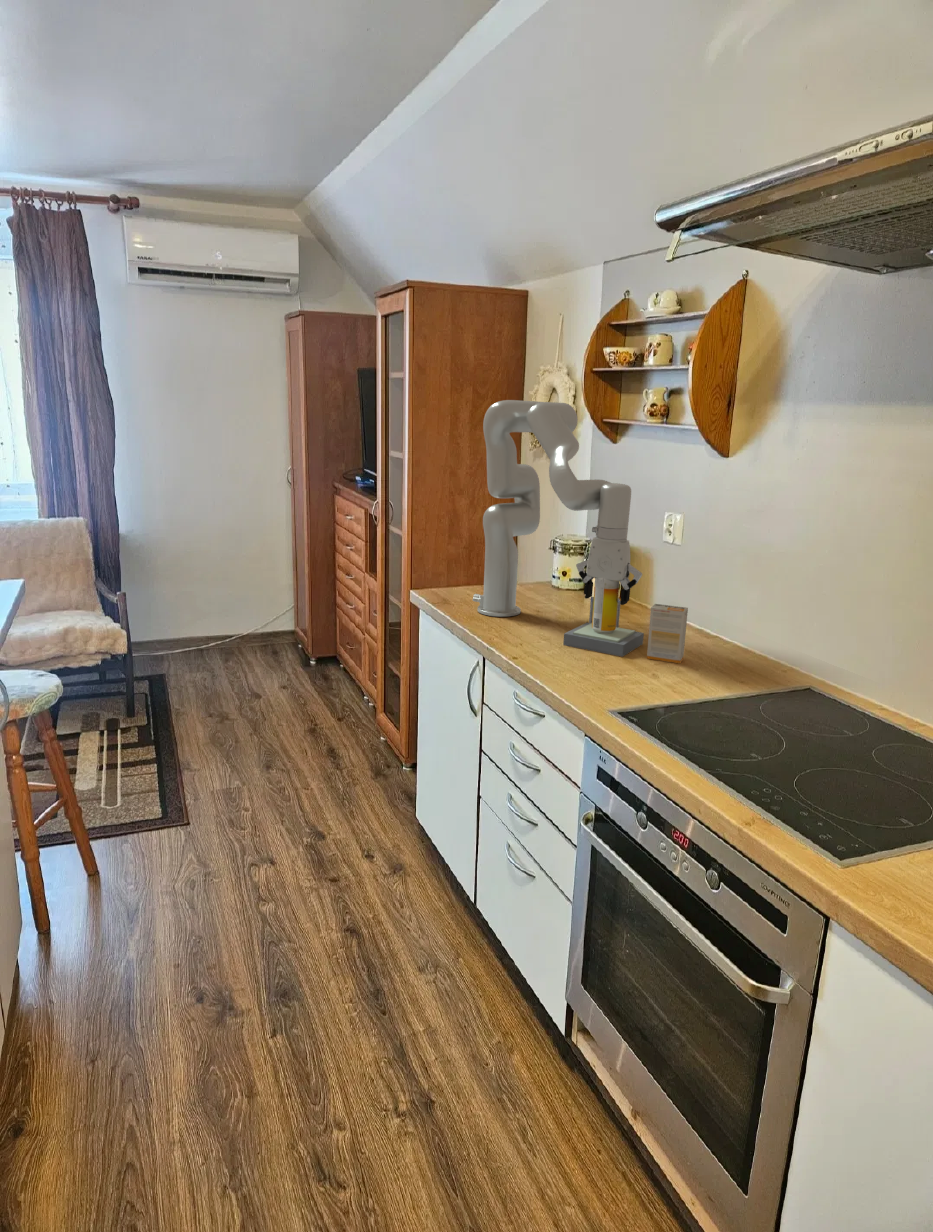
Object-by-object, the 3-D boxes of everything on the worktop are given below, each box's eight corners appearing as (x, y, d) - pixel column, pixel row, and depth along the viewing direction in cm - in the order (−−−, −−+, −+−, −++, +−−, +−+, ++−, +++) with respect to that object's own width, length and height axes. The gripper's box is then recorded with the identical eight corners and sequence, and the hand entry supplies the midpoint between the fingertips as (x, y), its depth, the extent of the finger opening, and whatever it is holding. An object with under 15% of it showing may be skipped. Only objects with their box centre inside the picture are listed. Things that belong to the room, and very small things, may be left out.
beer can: (619, 631, 209) (624, 573, 205) (607, 635, 205) (611, 576, 201) (599, 626, 213) (604, 570, 209) (586, 630, 208) (590, 573, 205)
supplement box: (683, 659, 200) (689, 607, 196) (680, 664, 195) (685, 611, 192) (650, 653, 203) (655, 602, 200) (645, 658, 199) (650, 606, 195)
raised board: (563, 644, 208) (564, 631, 207) (586, 633, 219) (586, 620, 218) (622, 656, 200) (623, 643, 199) (642, 644, 211) (644, 631, 210)
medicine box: (617, 628, 226) (619, 597, 224) (618, 632, 222) (621, 601, 219) (588, 626, 226) (590, 596, 224) (589, 630, 222) (591, 599, 220)
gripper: (573, 531, 204) (568, 597, 208) (639, 540, 195) (632, 609, 199) (586, 528, 210) (580, 592, 214) (650, 536, 201) (643, 603, 205)
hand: (605, 600), depth 207 cm, fingers open, 9 cm apart
